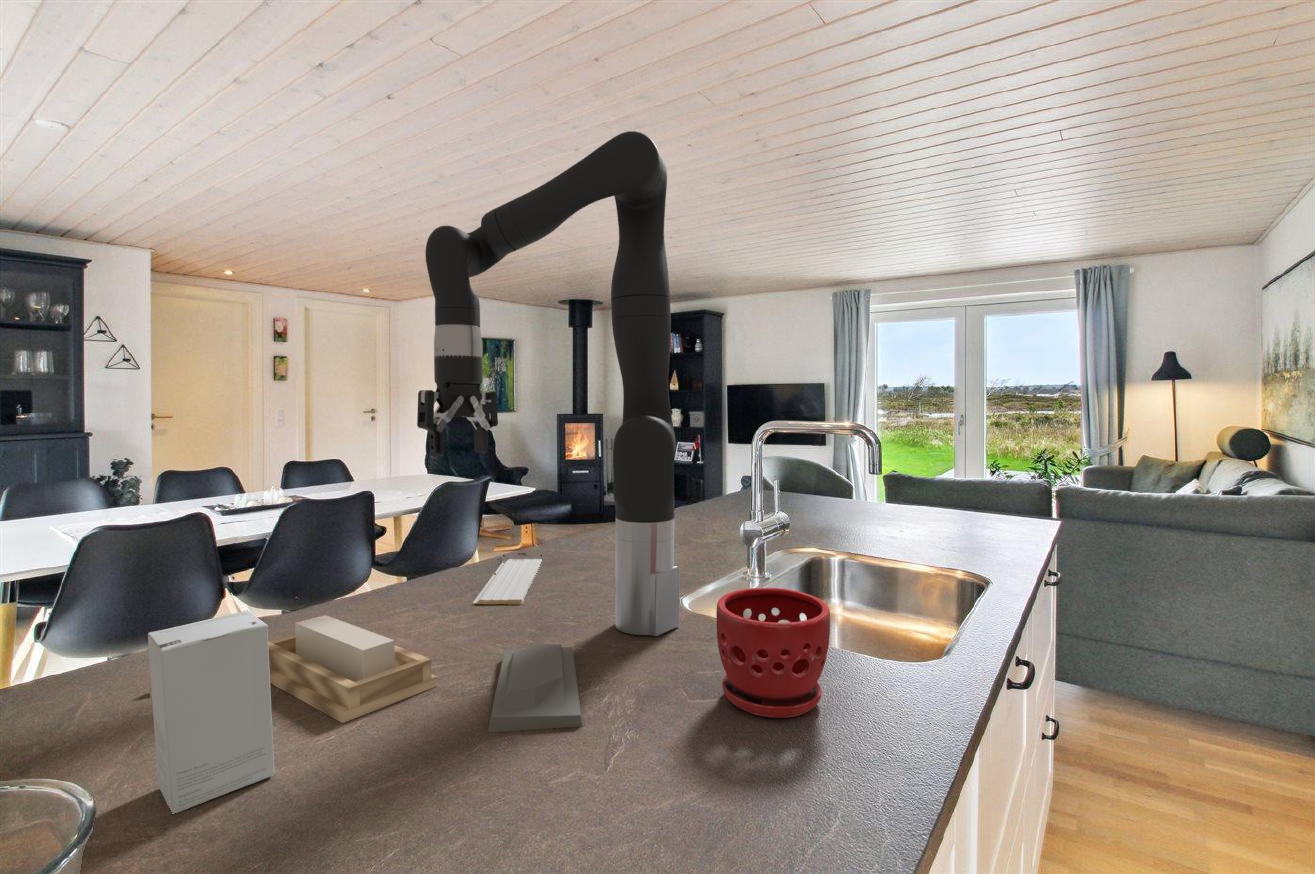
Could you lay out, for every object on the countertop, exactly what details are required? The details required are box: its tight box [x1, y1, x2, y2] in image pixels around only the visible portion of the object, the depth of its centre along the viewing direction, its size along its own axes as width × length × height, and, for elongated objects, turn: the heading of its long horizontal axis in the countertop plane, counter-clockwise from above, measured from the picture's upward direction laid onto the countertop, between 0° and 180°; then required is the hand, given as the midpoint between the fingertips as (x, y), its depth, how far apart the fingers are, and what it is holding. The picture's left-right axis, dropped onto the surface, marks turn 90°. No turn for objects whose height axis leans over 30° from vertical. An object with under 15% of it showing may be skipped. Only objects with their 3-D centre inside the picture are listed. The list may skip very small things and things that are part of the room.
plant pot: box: [716, 587, 831, 719], centre depth 78 cm, size 13×13×12 cm
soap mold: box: [487, 643, 583, 733], centre depth 81 cm, size 10×20×4 cm, turn 9°
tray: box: [268, 634, 438, 724], centre depth 83 cm, size 22×12×4 cm, turn 54°
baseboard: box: [472, 552, 543, 606], centre depth 130 cm, size 30×3×10 cm
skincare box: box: [147, 609, 275, 815], centre depth 60 cm, size 8×6×15 cm
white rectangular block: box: [294, 614, 395, 682], centre depth 83 cm, size 16×4×5 cm, turn 54°
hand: (460, 454), depth 108 cm, fingers open, 8 cm apart
